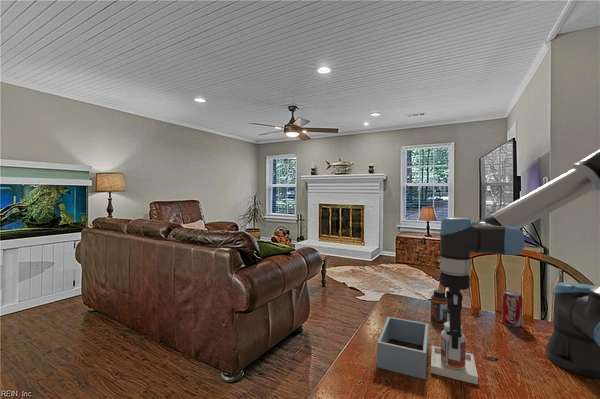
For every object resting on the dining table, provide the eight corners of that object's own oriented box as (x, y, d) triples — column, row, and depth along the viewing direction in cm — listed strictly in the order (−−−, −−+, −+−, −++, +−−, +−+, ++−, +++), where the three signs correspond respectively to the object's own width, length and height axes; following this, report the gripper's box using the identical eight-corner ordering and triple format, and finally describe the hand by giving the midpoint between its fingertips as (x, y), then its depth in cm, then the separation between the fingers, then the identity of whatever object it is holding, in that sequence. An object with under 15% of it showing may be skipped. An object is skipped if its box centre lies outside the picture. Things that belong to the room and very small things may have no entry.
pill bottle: (469, 366, 82) (470, 326, 82) (458, 373, 78) (458, 331, 78) (447, 356, 87) (448, 318, 87) (436, 362, 84) (436, 323, 83)
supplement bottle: (427, 317, 117) (427, 289, 116) (439, 315, 118) (439, 287, 118) (438, 323, 111) (438, 294, 111) (450, 321, 113) (451, 292, 113)
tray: (472, 360, 86) (473, 354, 86) (477, 384, 75) (478, 376, 75) (431, 351, 91) (431, 345, 91) (430, 372, 80) (431, 365, 80)
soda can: (502, 319, 116) (502, 289, 115) (522, 323, 112) (523, 292, 112) (500, 324, 111) (501, 293, 111) (521, 329, 107) (522, 296, 107)
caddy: (427, 345, 95) (428, 323, 94) (425, 379, 77) (426, 353, 77) (387, 336, 100) (388, 316, 100) (376, 367, 82) (377, 342, 82)
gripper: (439, 262, 95) (438, 326, 96) (440, 282, 73) (438, 366, 73) (466, 264, 92) (464, 331, 92) (475, 286, 70) (473, 375, 70)
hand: (453, 347), depth 83 cm, fingers open, 13 cm apart
